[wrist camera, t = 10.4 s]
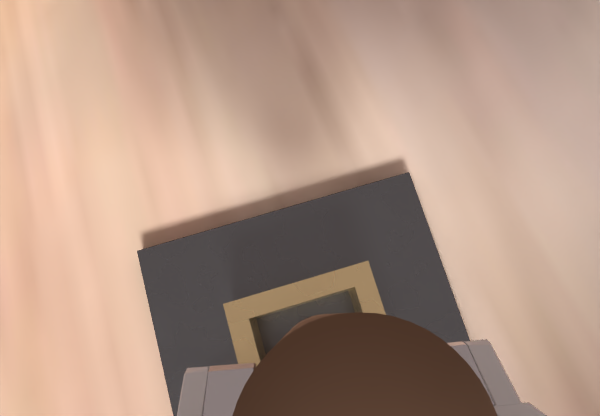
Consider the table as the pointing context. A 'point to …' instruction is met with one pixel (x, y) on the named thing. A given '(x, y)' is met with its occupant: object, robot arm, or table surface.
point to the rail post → (362, 372)
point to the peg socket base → (295, 277)
